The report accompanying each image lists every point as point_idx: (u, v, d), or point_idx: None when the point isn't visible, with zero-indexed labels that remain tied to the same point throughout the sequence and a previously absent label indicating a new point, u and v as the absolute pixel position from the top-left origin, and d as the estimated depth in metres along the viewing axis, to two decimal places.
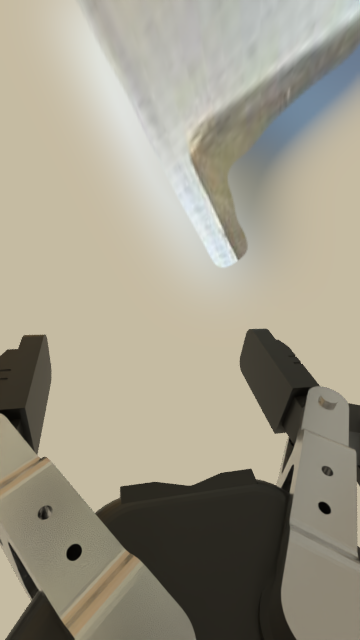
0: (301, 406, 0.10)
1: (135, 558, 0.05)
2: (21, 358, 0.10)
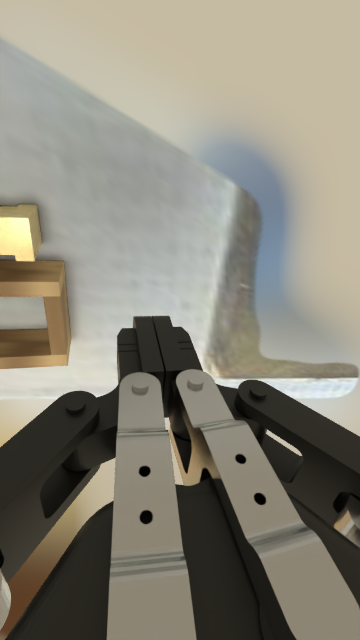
0: (174, 389, 0.10)
1: (135, 558, 0.05)
2: (142, 334, 0.12)
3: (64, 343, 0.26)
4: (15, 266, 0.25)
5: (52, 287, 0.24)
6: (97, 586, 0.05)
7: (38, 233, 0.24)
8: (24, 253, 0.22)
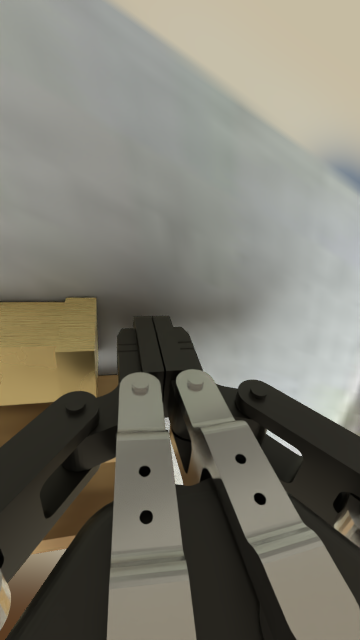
0: (174, 389, 0.10)
1: (135, 558, 0.05)
2: (142, 334, 0.12)
3: None
4: None
5: None
6: (97, 586, 0.05)
7: (97, 346, 0.14)
8: None
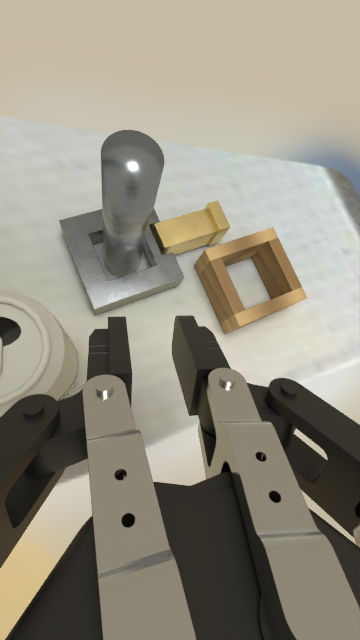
0: (205, 387, 0.10)
1: (135, 558, 0.05)
2: (114, 335, 0.12)
3: (296, 277, 0.32)
4: None
5: (270, 232, 0.32)
6: (97, 586, 0.05)
7: None
8: (222, 223, 0.32)
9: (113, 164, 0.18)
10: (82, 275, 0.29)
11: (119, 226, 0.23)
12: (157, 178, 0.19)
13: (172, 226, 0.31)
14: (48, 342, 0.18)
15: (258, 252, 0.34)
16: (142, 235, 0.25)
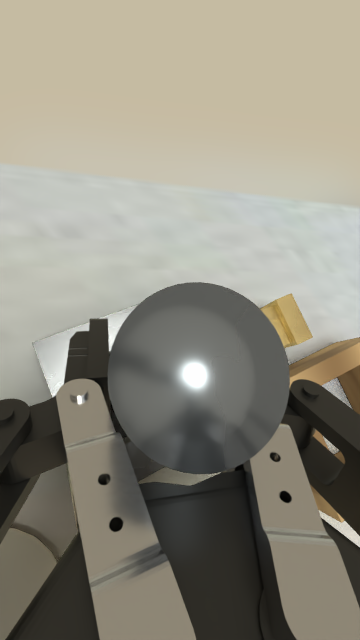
0: None
1: (135, 558, 0.05)
2: (94, 337, 0.11)
3: None
4: (310, 358, 0.22)
5: None
6: None
7: None
8: (301, 332, 0.19)
9: (147, 410, 0.06)
10: None
11: None
12: (273, 424, 0.06)
13: None
14: None
15: None
16: None
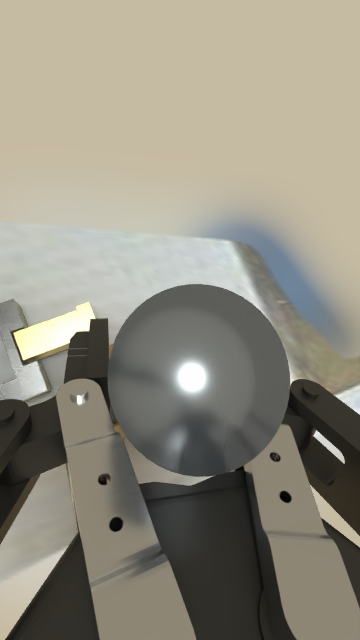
0: None
1: (135, 558, 0.05)
2: (94, 337, 0.11)
3: None
4: None
5: None
6: None
7: None
8: None
9: (147, 412, 0.06)
10: None
11: None
12: (273, 426, 0.06)
13: (35, 334, 0.29)
14: None
15: None
16: None
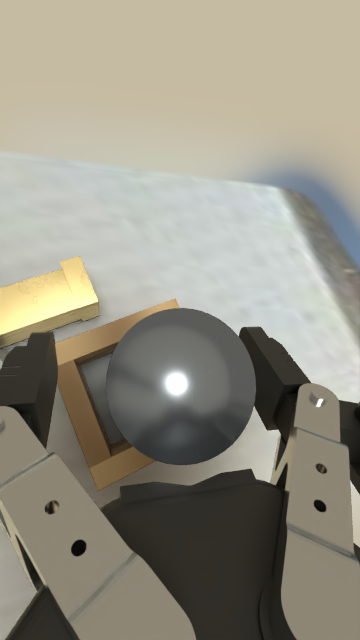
0: (292, 403, 0.10)
1: (135, 558, 0.05)
2: (30, 354, 0.10)
3: None
4: None
5: (171, 308, 0.19)
6: None
7: None
8: (85, 295, 0.19)
9: (137, 413, 0.07)
10: None
11: None
12: (242, 425, 0.08)
13: None
14: None
15: None
16: None
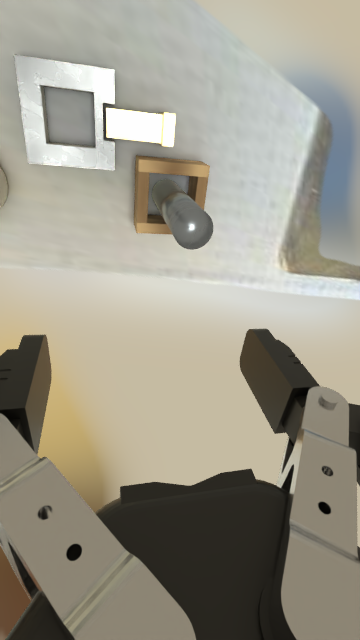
0: (301, 406, 0.10)
1: (135, 558, 0.05)
2: (21, 358, 0.10)
3: None
4: (175, 160, 0.37)
5: (205, 170, 0.36)
6: None
7: None
8: (168, 140, 0.34)
9: (179, 231, 0.28)
10: (24, 127, 0.32)
11: None
12: (200, 246, 0.29)
13: (122, 118, 0.33)
14: None
15: None
16: None
